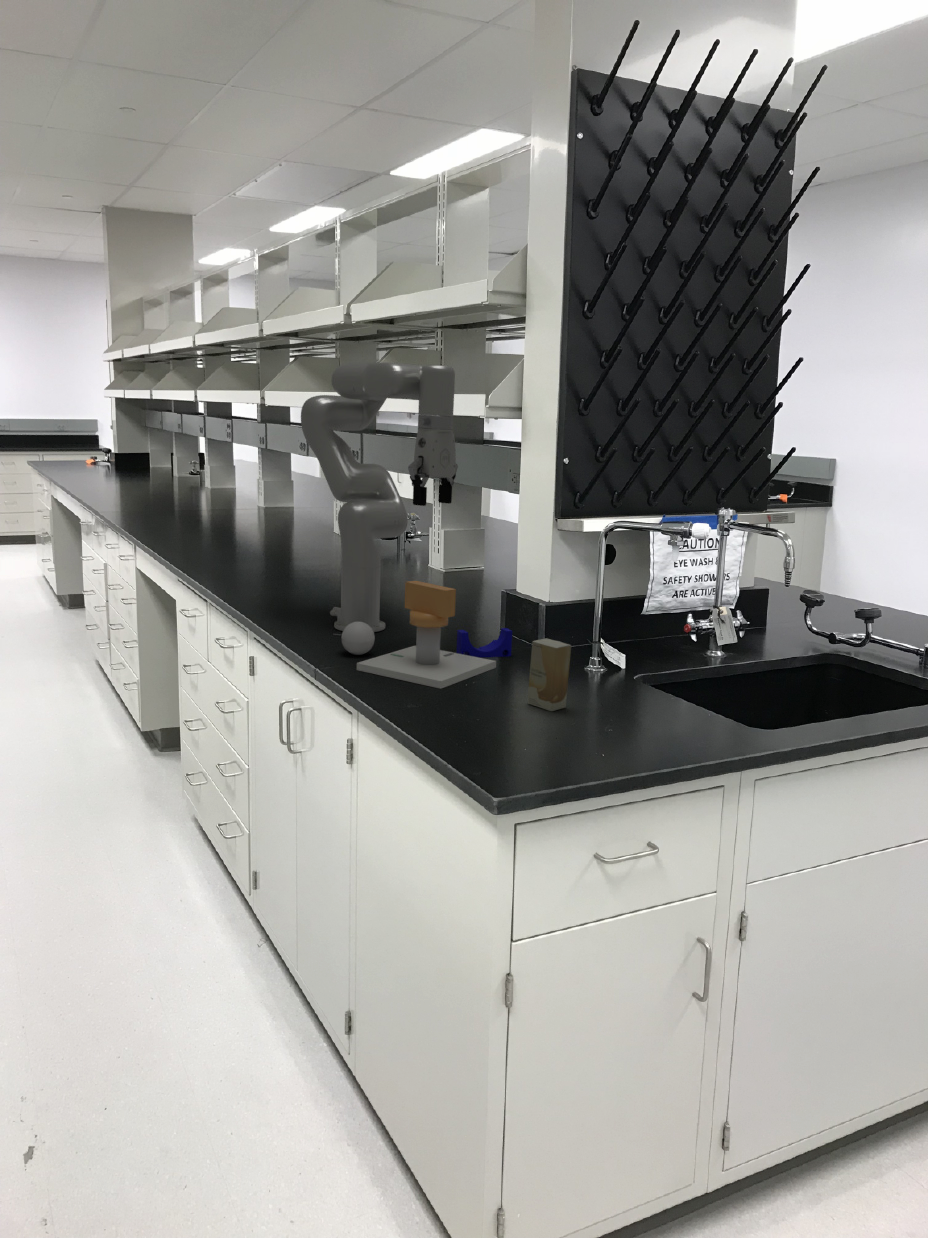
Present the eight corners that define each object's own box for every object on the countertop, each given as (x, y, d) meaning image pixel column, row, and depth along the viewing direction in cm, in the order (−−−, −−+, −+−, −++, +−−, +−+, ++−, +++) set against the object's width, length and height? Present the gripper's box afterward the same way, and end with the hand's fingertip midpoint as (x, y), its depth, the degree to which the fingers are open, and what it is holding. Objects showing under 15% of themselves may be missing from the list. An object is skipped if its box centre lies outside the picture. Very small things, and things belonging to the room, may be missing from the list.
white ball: (381, 653, 208) (382, 621, 206) (361, 660, 202) (361, 627, 200) (345, 646, 213) (345, 615, 211) (324, 653, 207) (325, 620, 205)
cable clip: (503, 652, 215) (504, 626, 214) (510, 657, 211) (512, 631, 210) (454, 654, 211) (455, 628, 210) (460, 659, 207) (461, 633, 205)
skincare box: (526, 704, 175) (530, 640, 173) (541, 700, 178) (545, 637, 176) (552, 712, 171) (556, 647, 168) (567, 708, 174) (572, 644, 171)
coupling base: (356, 670, 194) (357, 623, 192) (415, 651, 211) (417, 609, 209) (440, 688, 183) (442, 639, 181) (495, 667, 200) (498, 622, 198)
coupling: (462, 626, 193) (464, 587, 192) (434, 631, 188) (436, 591, 186) (423, 616, 202) (424, 579, 200) (395, 620, 196) (396, 582, 194)
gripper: (426, 424, 193) (423, 507, 196) (471, 425, 207) (468, 503, 210) (397, 422, 197) (394, 504, 200) (443, 424, 211) (440, 500, 214)
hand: (432, 504), depth 205 cm, fingers open, 9 cm apart
